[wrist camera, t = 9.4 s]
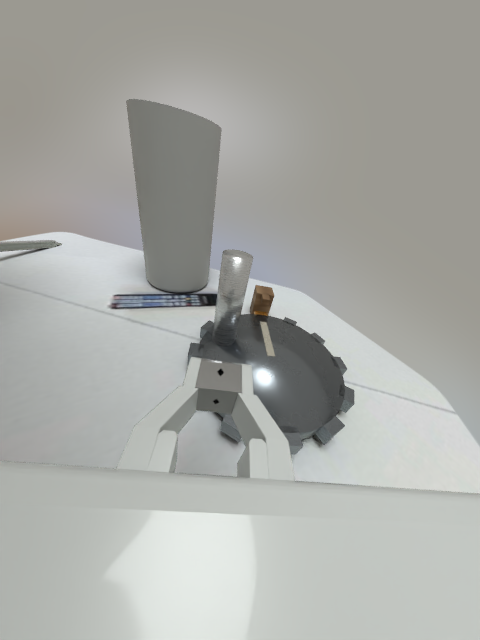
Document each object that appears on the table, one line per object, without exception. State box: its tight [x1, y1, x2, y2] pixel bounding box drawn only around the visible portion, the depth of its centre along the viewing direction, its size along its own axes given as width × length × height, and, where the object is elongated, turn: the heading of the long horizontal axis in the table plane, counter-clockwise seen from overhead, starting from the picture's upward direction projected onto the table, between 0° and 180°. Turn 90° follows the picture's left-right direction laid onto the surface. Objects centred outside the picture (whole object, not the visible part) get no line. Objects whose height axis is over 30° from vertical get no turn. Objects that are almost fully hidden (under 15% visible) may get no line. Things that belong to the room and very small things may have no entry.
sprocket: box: [188, 250, 354, 454], centre depth 21 cm, size 20×20×13 cm
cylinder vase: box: [126, 99, 221, 293], centre depth 34 cm, size 12×12×25 cm
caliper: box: [0, 240, 62, 252], centre depth 36 cm, size 20×1×6 cm, turn 172°
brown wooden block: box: [250, 285, 274, 316], centre depth 34 cm, size 3×5×5 cm, turn 0°
